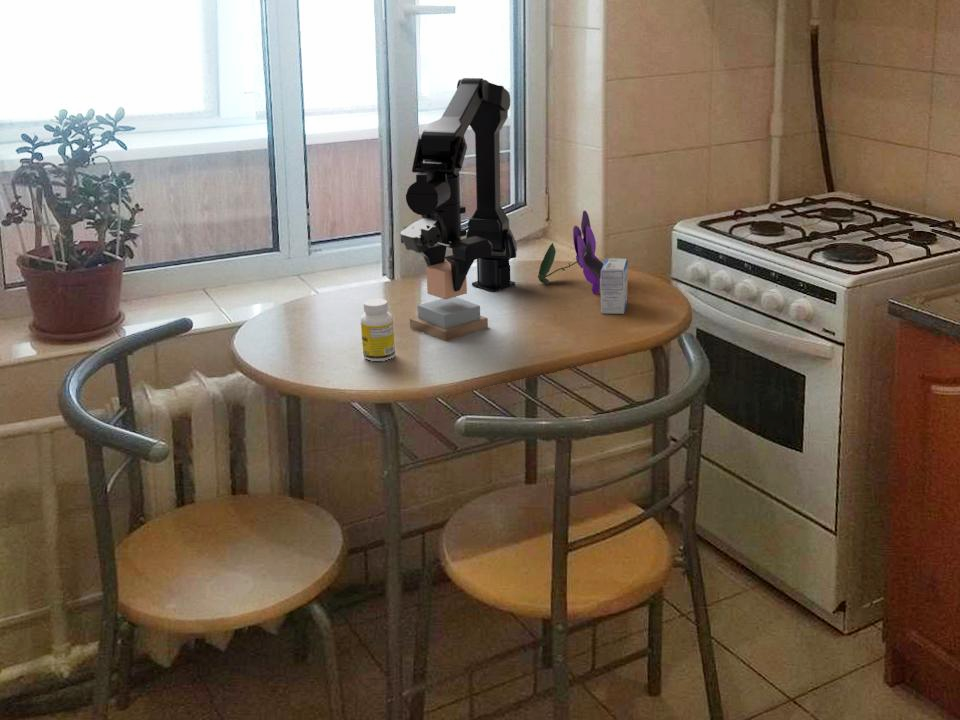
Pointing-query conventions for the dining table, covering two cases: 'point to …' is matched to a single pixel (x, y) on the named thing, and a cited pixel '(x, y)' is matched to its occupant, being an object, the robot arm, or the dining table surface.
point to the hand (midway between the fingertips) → (447, 287)
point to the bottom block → (448, 332)
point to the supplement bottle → (377, 331)
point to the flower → (578, 255)
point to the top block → (448, 312)
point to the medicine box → (614, 286)
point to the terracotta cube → (442, 281)
